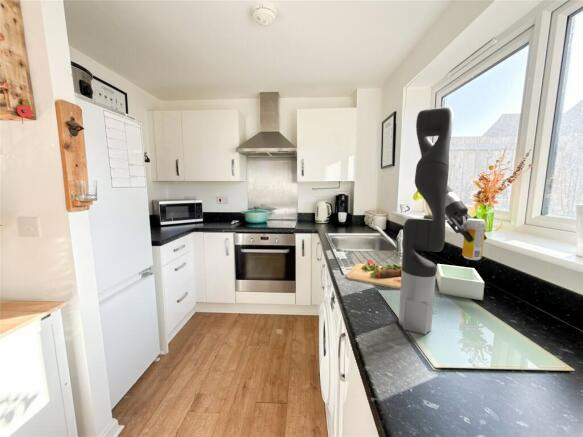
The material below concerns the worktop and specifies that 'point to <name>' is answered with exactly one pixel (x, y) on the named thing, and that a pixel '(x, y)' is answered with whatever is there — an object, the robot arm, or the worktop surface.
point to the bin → (459, 281)
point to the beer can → (477, 232)
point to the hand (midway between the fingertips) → (478, 240)
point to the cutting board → (377, 274)
